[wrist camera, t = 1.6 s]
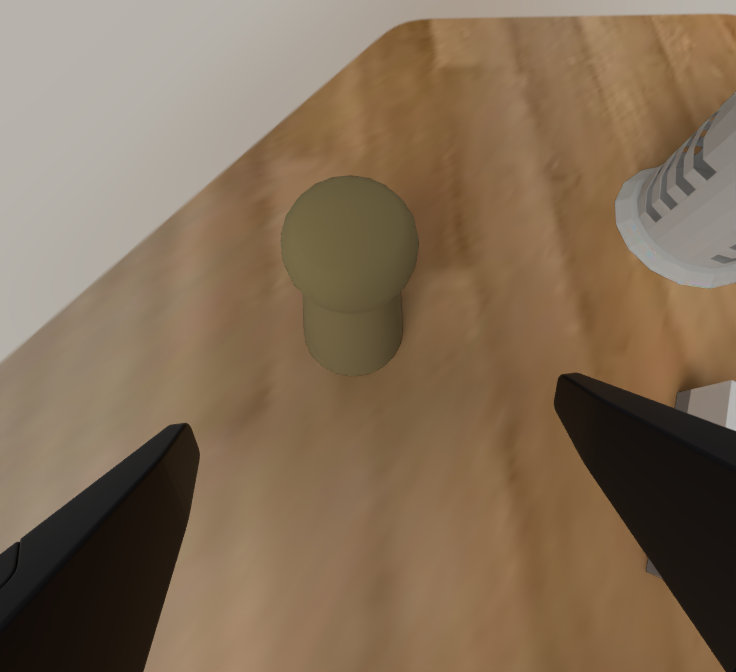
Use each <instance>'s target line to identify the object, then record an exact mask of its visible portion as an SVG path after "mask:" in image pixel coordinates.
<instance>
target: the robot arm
mask: <svg viewBox="0 0 736 672" xmlns="http://www.w3.org/2000/svg"><path fill="white" fill-rule="evenodd" d="M554 407H555V410H556V413H557V414H558V416H559V418H560V420H561V422H562V424H563V426H564V427H565V429H566V431H567V433H568V435H569V437H570V439H571V440H572V442H573V444H574V446H575V448H576V450H577V452H578V453H579V455H580V457H581V459H582V460H583V462H584V464H585V465H586V467H587V468H588V470H589V472H590V473H591V475H592V476H593V477H594V479H595V480H596V482H597V483H598V485H599V486H600V488H601V489H602V491H603V492H604V494H605V495H606V497H607V498H608V499H609V501H610V502H611V504H612V505H613V507H614V508H615V510H616V511H617V513H618V514H619V516H620V517H621V519H622V520H623V522H624V523H625V524H626V526H627V527H628V529H629V530H630V532H631V533H632V535H633V536H634V538H635V539H636V541H637V542H638V544H639V545H640V546H641V548H642V549H643V551H644V552H645V554H646V555H647V557H648V558H649V560H650V561H651V563H652V564H653V566H654V567H655V568H656V570H657V571H658V573H659V574H660V576H661V577H662V579H663V580H664V582H665V583H666V585H667V586H668V588H669V589H670V591H671V592H672V593H673V595H674V596H675V598H676V599H677V601H678V602H679V604H680V605H681V607H682V608H683V610H684V611H685V613H686V614H687V615H688V617H689V618H690V620H691V621H692V623H693V624H694V626H695V627H696V629H697V630H698V632H699V633H700V635H701V636H702V638H703V639H704V640H705V642H706V643H707V645H708V646H709V648H710V649H711V651H712V652H713V654H714V655H715V657H716V658H717V660H718V661H719V662H720V664H721V665H722V667H723V668H724V670H725V671H726V672H736V431H734V430H732V429H729V428H726V427H724V426H721V425H718V424H715V423H713V422H710V421H707V420H705V419H702V418H699V417H696V416H694V415H691V414H688V413H686V412H683V411H680V410H678V409H675V408H672V407H669V406H667V405H664V404H661V403H659V402H656V401H653V400H650V399H648V398H645V397H642V396H640V395H637V394H634V393H631V392H629V391H626V390H623V389H621V388H618V387H615V386H612V385H610V384H607V383H604V382H602V381H599V380H596V379H594V378H591V377H588V376H585V375H583V374H580V373H568V374H562V375H560V376H559V378H558V381H557V386H556V392H555V398H554ZM199 459H200V452H199V448H198V445H197V442H196V440H195V437H194V434H193V431H192V428H191V426H190V425H189V424H187V423H180V424H173V425H169V426H167V427H166V428H165V429H164V430H162V431H161V432H160V433H158V434H157V435H156V436H154V437H153V438H152V439H150V440H149V441H148V442H147V443H145V444H144V445H143V446H141V447H140V448H139V449H137V450H136V451H135V452H133V453H132V454H131V455H130V456H128V457H127V458H126V459H124V460H123V461H122V462H120V463H119V464H118V465H116V466H115V467H114V468H113V469H111V470H110V471H109V472H107V473H106V474H105V475H103V476H102V477H101V478H99V479H98V480H97V481H96V482H94V483H93V484H92V485H90V486H89V487H88V488H86V489H85V490H84V491H82V492H81V493H80V494H79V495H77V496H76V497H75V498H73V499H72V500H71V501H69V502H68V503H67V504H65V505H64V506H63V507H62V508H60V509H59V510H58V511H56V512H55V513H54V514H52V515H51V516H50V517H48V518H47V519H46V520H44V521H43V522H42V523H41V524H39V525H38V526H37V527H35V528H34V529H33V530H31V531H30V532H29V533H27V534H26V535H25V536H24V537H22V538H21V540H20V542H16V543H14V544H13V545H12V546H10V547H9V548H8V549H6V550H5V551H4V552H3V553H1V554H0V672H143V671H144V668H145V665H146V661H147V658H148V655H149V651H150V648H151V644H152V641H153V638H154V634H155V631H156V628H157V624H158V621H159V618H160V614H161V611H162V608H163V604H164V601H165V598H166V594H167V591H168V588H169V584H170V581H171V578H172V574H173V571H174V568H175V564H176V561H177V558H178V554H179V551H180V547H181V544H182V541H183V537H184V534H185V531H186V527H187V523H188V520H189V515H190V510H191V504H192V499H193V493H194V488H195V482H196V476H197V471H198V465H199Z"/></svg>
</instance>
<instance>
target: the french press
mask: <svg viewBox="0 0 736 672" xmlns="http://www.w3.org/2000/svg"><path fill="white" fill-rule="evenodd" d="M715 115H716V116H715ZM714 116H715V118H714V120H713V121H709V120H710V119H711V118H712V117H714ZM708 121H709V122H708ZM703 130H708V131H707V133H706V135H705V137H700V134H701V132H702V131H703ZM695 134H696V135H695ZM694 135H695V137H694V138H693V139H691V138H692V137H693V136H694ZM695 145H696V146H699V147H701V148H703V149H702V150H701V151H700V152H698V153H697V154H694V148H695ZM689 146H690V147H689ZM685 147H689V149H688V151H687V152H684V153H682V152H683V150H684V148H685ZM677 152H678V153H677ZM675 153H677V154H675ZM615 212H616V225H617V227H618V229H619V231H620V233H621V235H622V237H623V239H624V241H625V243H626V245H627V247H628V249H629V250H630V251H631V252H632V253H633V254H634V255H635V256H636V257H637V258H639V259H640V260H641V261H642V262H643V263H644V264H645V265H646V266H647V267H648V268H649V269H650V270H652V271H654V272H656V273H658V274H660V275H662V276H664V277H666V278H668V279H670V280H672V281H674V282H676V283H678V284H681V285H688V286H695V287H701V288H708V289H710V288H715V287H719V286H723V285H728V284H732V283H736V92H735V93H734V94H733V95H732V96H731V97H730V98H729V99H728V100H727V101H726V102H724V103H723V104H722V105H721V106H720V108H719V110H718V111H717V112H716V113H714V114H713V115H712V116H711V117H710V118H709V119H708V120H707V121H706V122H705V123H703V124H702V125H701V126H700V127H699V129H698V131H696V132H695V133H694V134H693V135H692V136H691V137H690V138H689V139H688V140H686V141H685V142H684V143H683V144H682V146H681V147H680V148H679V149H678V150H676V151H675V152H674V153H673V154H672V155H671V156H670V157H669V158H668V160H667V161H666V162H665V163H664V164H663V165H661V166H660V167H655V168H650V169H645V170H641V171H640V172H639V173H637V174H636V175H634V176H633V177H631V178H630V179H629V180H627V181H626V182H624V184H623V186H622V188H621V190H620V192H619V194H618V196H617V198H616V201H615Z"/></svg>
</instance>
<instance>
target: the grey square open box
mask: <svg viewBox="0 0 736 672" xmlns="http://www.w3.org/2000/svg"><path fill="white" fill-rule="evenodd" d="M675 409H678V410H680V411H683V412H686V413H688V414H691V415H694V416H696V417H699V418H702V419H705V420H707V421H710V422H713V423H715V424H718V425H721V426H724V427H726V428H729V429H732V430H734V431H736V382H735V381H733V380H730V381H725V382H721V383H717V384H713V385H708V386H704V387H700V388H695V389H691V390H687V391H682V392H678V393H677V398H676V404H675ZM646 572H648V573H650V574H653V575H655V576H657V577H659V578H661V579H662V577H661V576H660V574H659V573H658V571H657V570H656V568H655V567H654V566H653V564H652V563H651V561H650V560H649V558H648V563H647V569H646Z"/></svg>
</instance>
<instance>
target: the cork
mask: <svg viewBox="0 0 736 672" xmlns="http://www.w3.org/2000/svg"><path fill="white" fill-rule="evenodd" d="M418 246H419V241H418V235H417V230H416V226H415V221H414V217H413V215H412V214H411V212H410V211H409V209H408V207H407V206H406V204H405V203H404V201H403V200H402V199H401V198H400V197H399V196H398V195H396V194H395V193H394V192H393V191H392V190H390V189H389V188H388V187H387V186H386V185H383V184H381V183H379V182H377V181H374V180H372V179H370V178H365V177H358V176H351V175H350V176H341V177H332V178H329V179H327V180H324V181H322V182H319V183H317V184H315V185H313V186H312V187H311V188H309V189H308V190H307V191H305V192H304V193H303V194H302V195H301V196H300V197H299V198H298V199H297V200H296V202H295V203H294V205H293V206H292V207H291V209H290V210H289V212H288V213H287V215H286V218H285V222H284V225H283V229H282V233H281V249H282V260H283V262H284V265H285V267H286V269H287V271H288V274H289V276H290V278H291V280H292V282H293V284H294V285H295V286H296V287H297V288H298V289H299V290H300V291H301V292H302V293H303V318H304V335H305V342H306V344H307V347H308V349H309V351H310V353H311V355H312V356H313V357H314V358H315V359H316V360H317V361H318V362H319V363H320V364H321V365H322V366H323V367H325V368H326V369H328V370H330V371H332V372H334V373H336V374H341V375H347V376H359V375H366V374H370V373H372V372H374V371H376V370H378V369H380V368H382V367H384V366H385V365H386V364H387V363H388V362H389V361H390V360H391V359H392V358H393V357H394V355H395V353H396V352H397V350H398V348H399V346H400V344H401V339H402V332H403V320H402V304H401V290H402V289H403V288H404V287H405V285H406V283H407V282H408V280H409V278H410V276H411V274H412V272H413V270H414V268H415V265H416V261H417V254H418Z"/></svg>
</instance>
